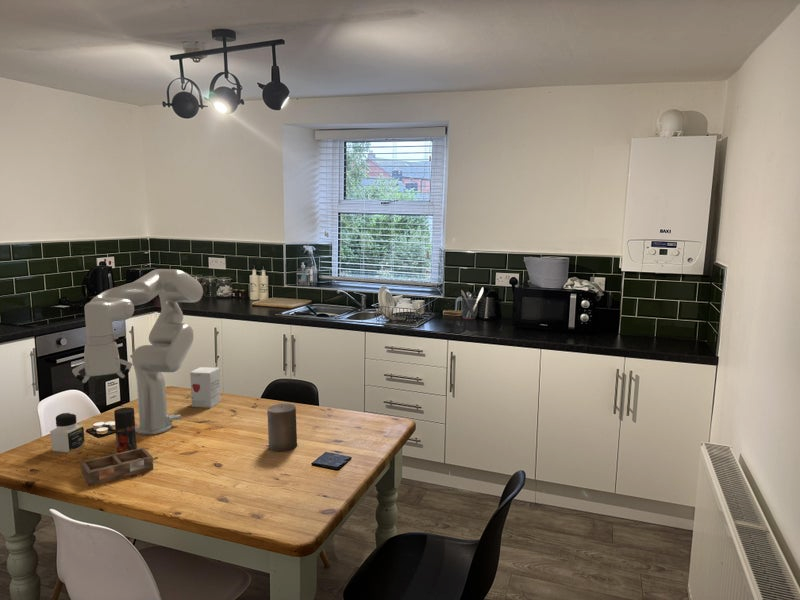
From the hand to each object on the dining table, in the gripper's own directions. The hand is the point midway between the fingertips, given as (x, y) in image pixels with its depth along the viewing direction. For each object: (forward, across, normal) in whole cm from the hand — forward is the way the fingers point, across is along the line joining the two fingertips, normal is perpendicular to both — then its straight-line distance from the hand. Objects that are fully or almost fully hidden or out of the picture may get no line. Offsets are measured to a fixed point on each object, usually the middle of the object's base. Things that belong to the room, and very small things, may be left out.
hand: (104, 391), depth 188 cm
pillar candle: (+22, -52, +21) cm, 60 cm away
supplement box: (+22, -38, -39) cm, 59 cm away
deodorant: (+22, -5, +2) cm, 23 cm away
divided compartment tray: (+22, -2, +16) cm, 27 cm away
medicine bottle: (+22, +12, -13) cm, 28 cm away
